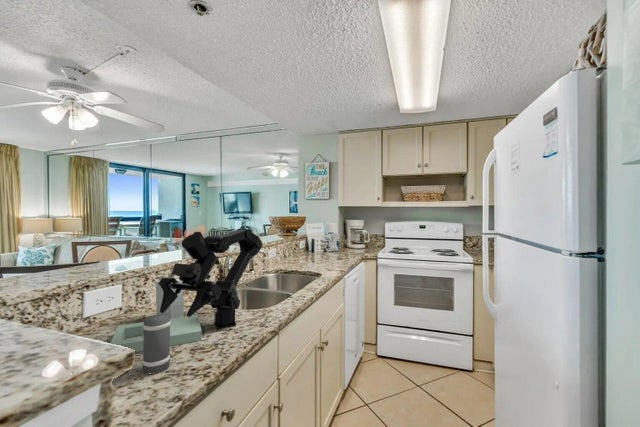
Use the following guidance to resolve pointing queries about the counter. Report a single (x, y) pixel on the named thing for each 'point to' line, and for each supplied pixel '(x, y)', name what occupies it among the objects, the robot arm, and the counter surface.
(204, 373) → the counter surface
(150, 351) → the white-banded grey cylinder
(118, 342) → the pale green recessed tray
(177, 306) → the skincare box
